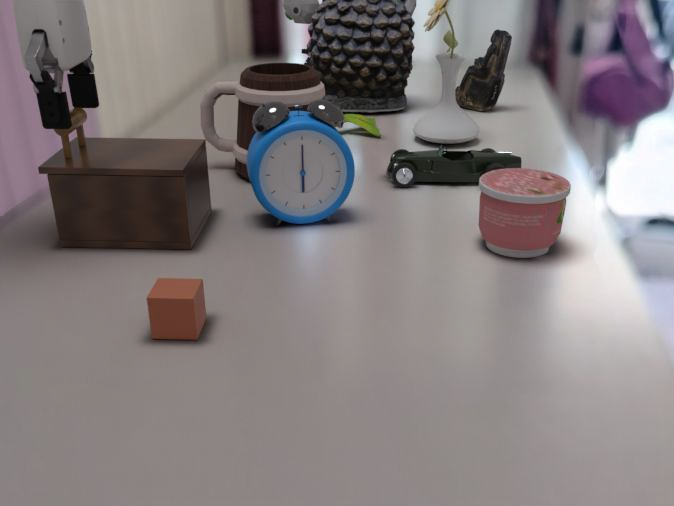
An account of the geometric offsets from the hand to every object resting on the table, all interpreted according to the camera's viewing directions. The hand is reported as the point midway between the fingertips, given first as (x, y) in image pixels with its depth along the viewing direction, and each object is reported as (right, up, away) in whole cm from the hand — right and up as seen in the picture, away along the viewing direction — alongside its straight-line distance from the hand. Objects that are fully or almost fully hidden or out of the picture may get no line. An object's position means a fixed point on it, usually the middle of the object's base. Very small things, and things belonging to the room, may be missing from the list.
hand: (72, 117), depth 94 cm
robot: (+29, +34, +87) cm, 98 cm away
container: (+53, -15, +3) cm, 55 cm away
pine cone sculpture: (+35, +20, +63) cm, 75 cm away
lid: (+6, -4, +2) cm, 8 cm away
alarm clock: (+26, -10, +10) cm, 30 cm away
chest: (+6, -12, +7) cm, 15 cm away
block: (+16, -25, -16) cm, 34 cm away
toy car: (+48, -2, +24) cm, 54 cm away
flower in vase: (+49, +8, +43) cm, 65 cm away
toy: (+28, +11, +47) cm, 56 cm away
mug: (+20, 0, +28) cm, 34 cm away
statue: (+58, +20, +63) cm, 88 cm away
